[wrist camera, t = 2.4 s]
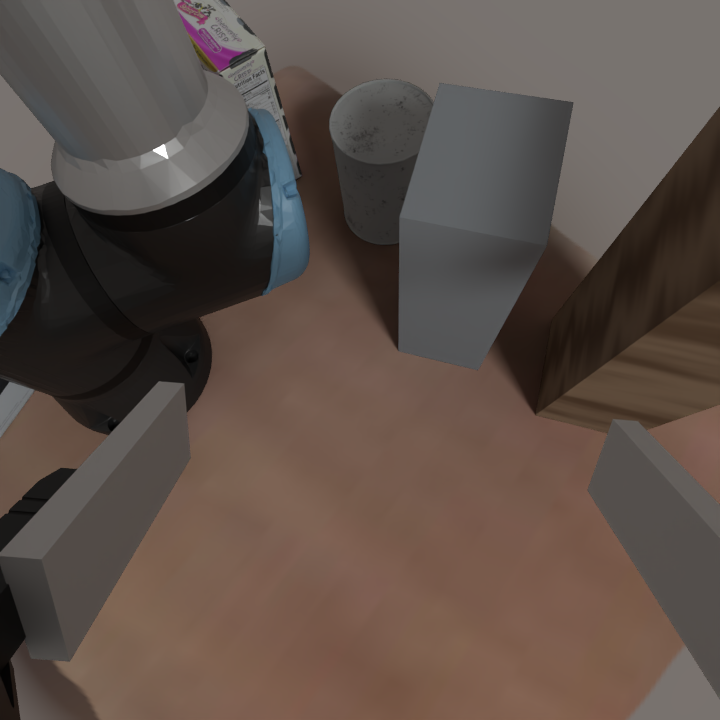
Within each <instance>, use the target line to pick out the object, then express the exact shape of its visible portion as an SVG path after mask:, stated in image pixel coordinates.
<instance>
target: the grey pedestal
mask: <svg viewBox="0 0 720 720" xmlns="http://www.w3.org/2000/svg"><path fill="white" fill-rule="evenodd" d="M572 108H573V102H568V101H561V100H554V99H547V98H540V97H533V96H526V95H520V94H512V93H505V92H499V91H492V90H485V89H478V88H471V87H464V86H457V85H450V84H444V83H440V84H439V87H438V91H437V94H436V97H435V101H434V104H433V107H432V111H431V114H430V117H429V121H428V124H427V127H426V131H425V134H424V137H423V141H422V144H421V147H420V151H419V154H418V157H417V161H416V164H415V167H414V171H413V174H412V177H411V181H410V184H409V187H408V191H407V194H406V197H405V201H404V204H403V207H402V211H401V214H400V217H399V342H398V351H400V352H404V353H408V354H413V355H417V356H421V357H425V358H429V359H433V360H438V361H442V362H446V363H450V364H454V365H458V366H463V367H467V368H471V369H475V370H478V369H479V368H480V366H481V364H482V362H483V360H484V358H485V357H486V355H487V353H488V351H489V349H490V348H491V346H492V344H493V342H494V340H495V339H496V337H497V335H498V333H499V331H500V330H501V328H502V326H503V324H504V322H505V321H506V319H507V317H508V315H509V313H510V311H511V310H512V308H513V306H514V304H515V302H516V301H517V299H518V297H519V295H520V293H521V292H522V290H523V288H524V286H525V284H526V283H527V281H528V279H529V277H530V275H531V274H532V272H533V270H534V268H535V266H536V264H537V263H538V261H539V259H540V257H541V255H542V254H543V252H544V250H545V248H546V246H547V242H548V237H549V232H550V226H551V221H552V215H553V210H554V205H555V199H556V194H557V188H558V183H559V177H560V171H561V167H562V162H563V156H564V151H565V145H566V140H567V134H568V129H569V124H570V118H571V113H572Z"/></svg>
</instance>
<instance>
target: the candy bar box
mask: <svg viewBox="0 0 720 720" xmlns="http://www.w3.org/2000/svg"><path fill="white" fill-rule="evenodd" d="M173 1H174V3H175V5H176V8H177V10H178V12H179V15H180V17H181V19H182V22H183V24H184V26H185V29H186V31H187V33H188V36H189V38H190V40H191V43H192V45H193V47H194V50H195V52H196V54H197V57H198V59H199V61H200V64H201V66H202V68H203V70H206V71H209V72H211V73H214V74H216V75H219V76H221V77H223V78H224V79H226V80H228V81H229V82H231V83H232V84H233V85H234V86H235V87H236V88H237V89H238V91H239V92H240V93H241V94H242V96H243V99H244V101H245V103H246V106H247V108H248V109H249V108H251V107H252V108H254V109H266V110H268V111H269V112H270V113H271V114H272V115H273V117H274V119H275V121H276V123H277V125H278V127H279V129H280V131H281V134H282V136H283V139H284V142H285V145H286V148H287V151H288V154H289V157H290V160H291V163H292V167H293V171H294V176H295V180H296V179H298V178H299V177H301V176H302V173H301V170H300V166H299V163H298V159H297V156H296V152H295V149H294V145H293V142H292V139H291V135H290V132H289V128H288V125H287V122H286V118H285V114H284V111H283V107H282V104H281V100H280V97H279V93H278V90H277V86H276V84H275V80H274V77H273V73H272V71H271V66H270V63H269V59H268V56H267V52H266V49H265V45H264V44H263V43H262V42H261V41H260V40H259V39H258V38H257V36H256V35H255V34H254V33H253V32H252V30H251V29H250V28H249V27H248V26H247V25H246V24H245V23H244V21H243V20H242V19H241V18H240V17H239V16H238V15H237V13H236V12H235V11H234V10H233V9H232V8H231V7H230V5H229V4H228V3H227V2H226V1H225V0H173Z"/></svg>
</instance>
